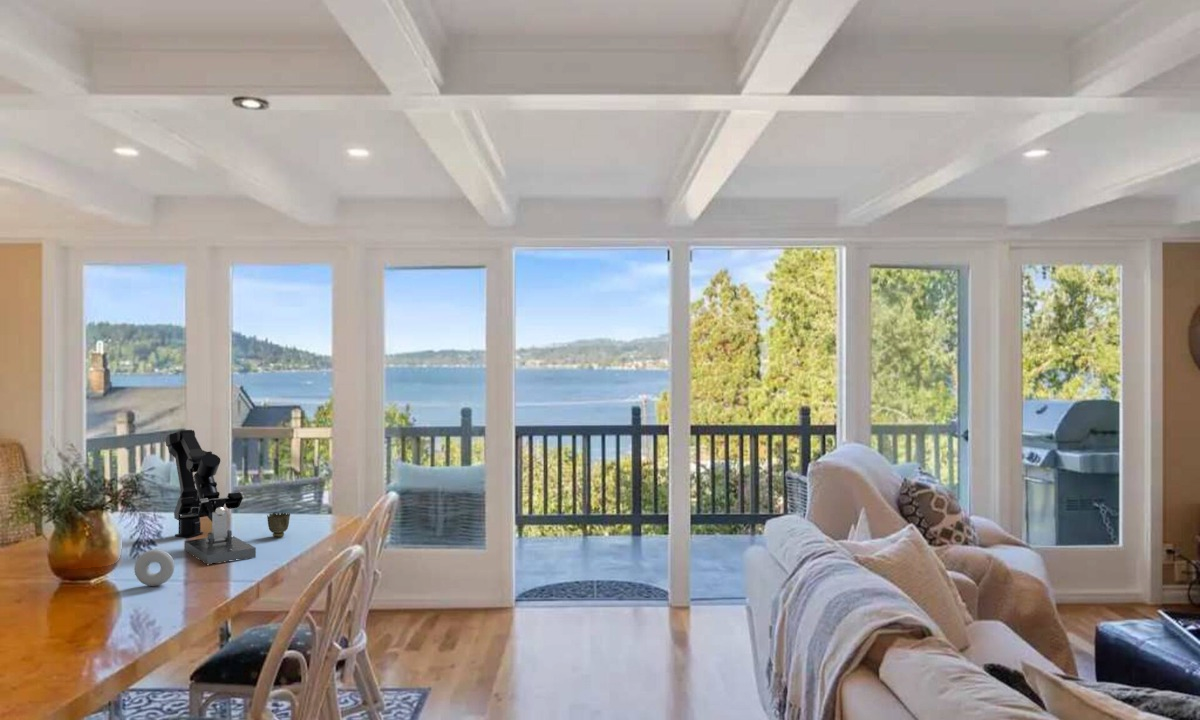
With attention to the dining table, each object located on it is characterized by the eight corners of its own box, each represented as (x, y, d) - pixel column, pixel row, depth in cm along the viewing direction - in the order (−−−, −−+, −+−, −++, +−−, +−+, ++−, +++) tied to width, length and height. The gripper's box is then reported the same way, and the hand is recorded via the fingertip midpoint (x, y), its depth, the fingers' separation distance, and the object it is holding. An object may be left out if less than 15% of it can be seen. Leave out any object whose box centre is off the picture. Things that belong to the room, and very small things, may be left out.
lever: (211, 542, 239) (211, 507, 239) (224, 540, 242) (225, 505, 242) (214, 544, 237) (214, 508, 237) (227, 542, 240) (228, 506, 240)
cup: (284, 539, 259) (284, 516, 259) (263, 539, 260) (263, 516, 260) (293, 534, 267) (293, 512, 267) (272, 534, 267) (273, 511, 267)
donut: (176, 583, 208) (176, 547, 208) (171, 586, 205) (172, 550, 205) (137, 584, 206) (137, 548, 206) (131, 588, 203) (132, 551, 203)
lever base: (184, 550, 244) (184, 528, 244) (230, 543, 253) (230, 522, 253) (207, 565, 226) (207, 542, 226) (255, 557, 236) (255, 535, 236)
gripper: (229, 497, 261) (240, 534, 253) (169, 503, 248) (179, 542, 240) (237, 477, 256) (248, 514, 248) (177, 482, 243) (186, 522, 235)
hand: (216, 523), depth 243 cm, fingers closed
